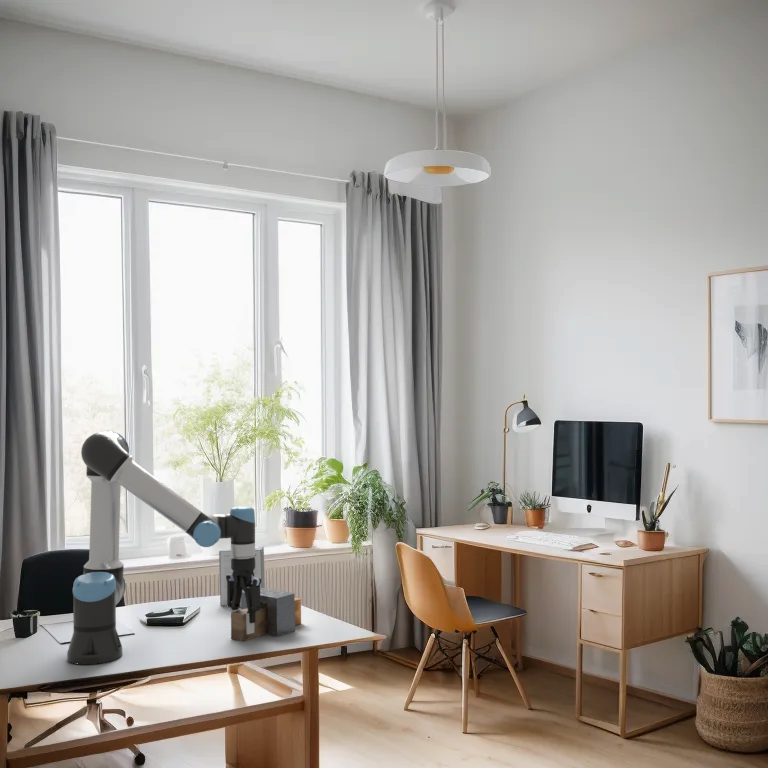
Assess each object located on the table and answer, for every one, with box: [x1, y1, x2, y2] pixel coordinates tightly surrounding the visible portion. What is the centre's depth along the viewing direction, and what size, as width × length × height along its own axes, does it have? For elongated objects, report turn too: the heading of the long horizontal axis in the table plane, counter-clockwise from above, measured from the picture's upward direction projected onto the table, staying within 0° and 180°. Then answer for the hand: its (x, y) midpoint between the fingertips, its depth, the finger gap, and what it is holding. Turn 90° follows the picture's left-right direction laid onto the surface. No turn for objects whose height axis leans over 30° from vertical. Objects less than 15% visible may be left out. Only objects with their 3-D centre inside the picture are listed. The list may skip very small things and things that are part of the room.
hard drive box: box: [218, 546, 266, 607], centre depth 318 cm, size 16×8×20 cm, turn 89°
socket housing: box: [240, 587, 296, 638], centre depth 279 cm, size 8×16×12 cm, turn 53°
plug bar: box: [230, 597, 302, 642], centre depth 278 cm, size 26×6×8 cm, turn 142°
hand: (243, 631), depth 270 cm, fingers closed on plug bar, 5 cm apart
